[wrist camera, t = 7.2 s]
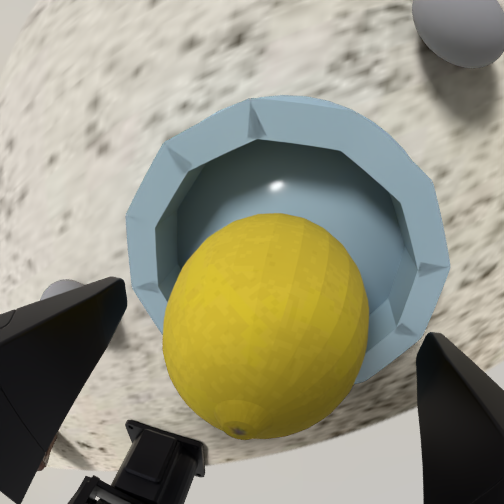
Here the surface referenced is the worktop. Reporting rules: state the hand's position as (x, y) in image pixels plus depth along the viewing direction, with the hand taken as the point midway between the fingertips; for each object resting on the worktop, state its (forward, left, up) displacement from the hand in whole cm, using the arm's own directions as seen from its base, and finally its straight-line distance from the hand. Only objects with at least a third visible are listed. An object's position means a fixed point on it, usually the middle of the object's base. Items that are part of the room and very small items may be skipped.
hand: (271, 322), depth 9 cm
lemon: (0, 0, -5) cm, 5 cm away
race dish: (0, 0, -5) cm, 5 cm away
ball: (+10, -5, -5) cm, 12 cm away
